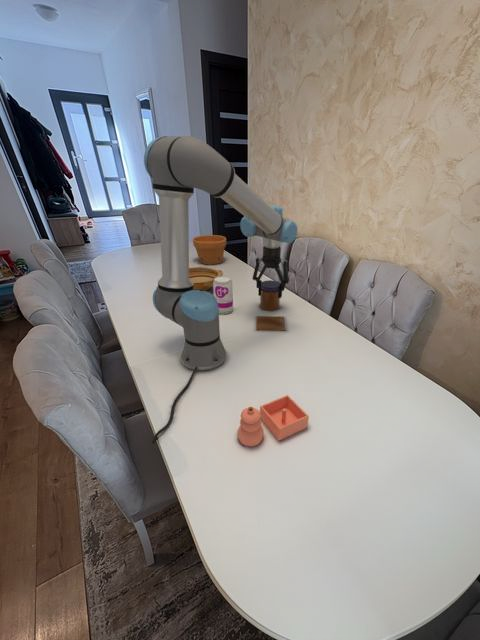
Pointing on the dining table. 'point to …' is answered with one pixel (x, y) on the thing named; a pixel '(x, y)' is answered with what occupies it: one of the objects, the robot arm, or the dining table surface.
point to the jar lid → (270, 285)
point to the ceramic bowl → (203, 277)
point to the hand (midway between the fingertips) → (270, 295)
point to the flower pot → (210, 248)
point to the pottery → (271, 421)
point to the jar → (269, 300)
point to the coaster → (270, 323)
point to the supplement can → (223, 294)
